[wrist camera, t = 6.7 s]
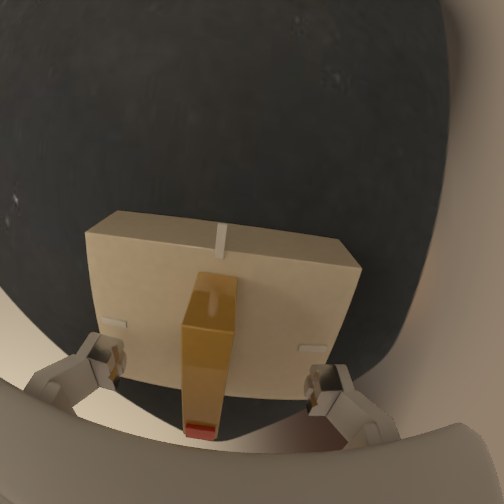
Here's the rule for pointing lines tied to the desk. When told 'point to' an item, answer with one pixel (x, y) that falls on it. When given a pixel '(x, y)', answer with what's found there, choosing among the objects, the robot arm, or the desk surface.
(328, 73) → the desk surface
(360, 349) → the desk surface
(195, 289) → the yellow slab
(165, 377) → the tan block
